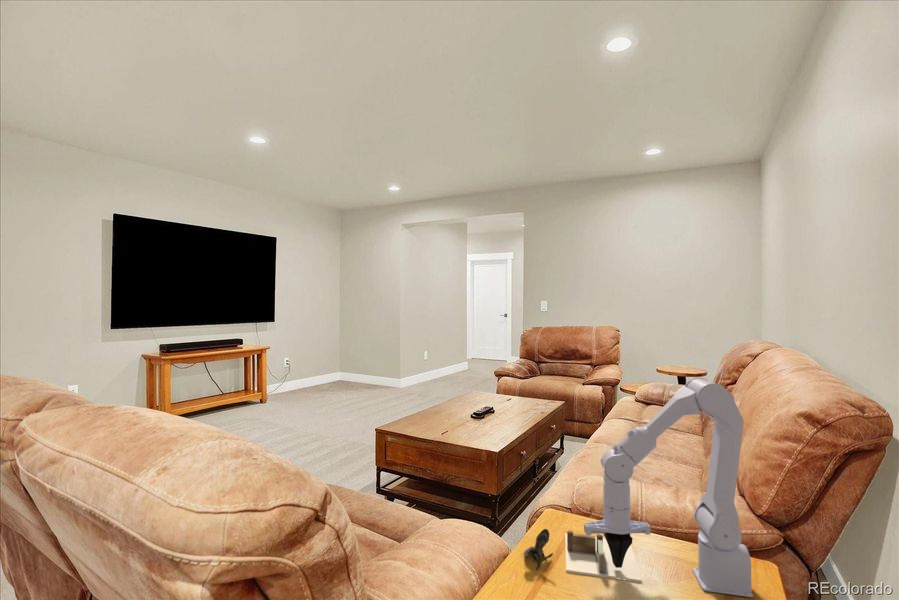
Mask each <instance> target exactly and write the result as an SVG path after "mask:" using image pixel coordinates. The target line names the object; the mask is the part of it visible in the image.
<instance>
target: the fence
mask: <svg viewBox="0 0 899 600" xmlns="http://www.w3.org/2000/svg"><path fill="white" fill-rule="evenodd" d="M566 534H567V550H568V551H575V552H583V553H591V554H596V538H595V537H597V554H598V540H602V544H603V538H604V537H603V536H604V535H603V534H596V536H594V535H586V534H579V533H574V532H573V531H572V530H568V531H566Z"/></svg>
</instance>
